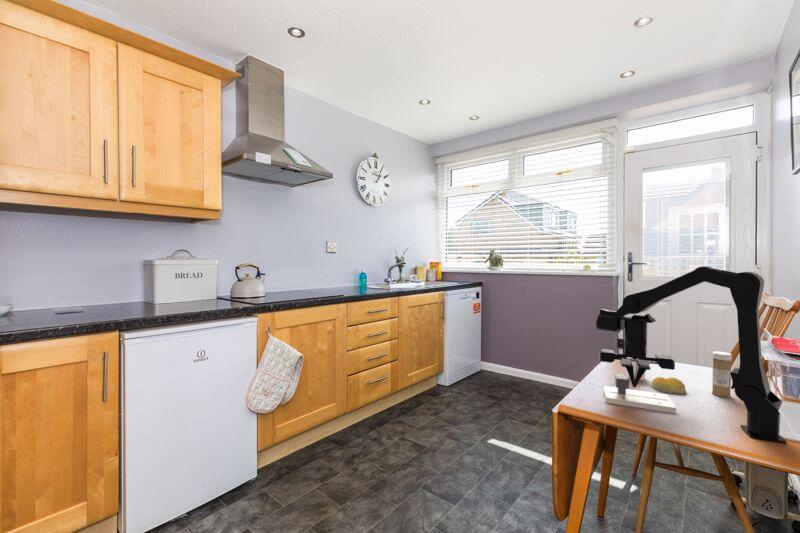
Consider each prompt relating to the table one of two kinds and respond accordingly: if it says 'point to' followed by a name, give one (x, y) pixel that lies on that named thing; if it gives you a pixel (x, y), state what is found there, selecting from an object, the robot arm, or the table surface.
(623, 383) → the fader knob
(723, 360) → the sprinkles bottle
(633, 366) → the white cup
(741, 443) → the table surface
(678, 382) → the bread roll
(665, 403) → the fader panel
